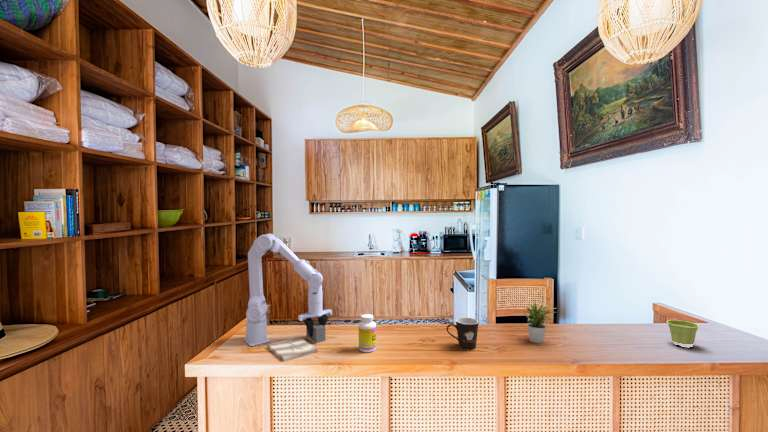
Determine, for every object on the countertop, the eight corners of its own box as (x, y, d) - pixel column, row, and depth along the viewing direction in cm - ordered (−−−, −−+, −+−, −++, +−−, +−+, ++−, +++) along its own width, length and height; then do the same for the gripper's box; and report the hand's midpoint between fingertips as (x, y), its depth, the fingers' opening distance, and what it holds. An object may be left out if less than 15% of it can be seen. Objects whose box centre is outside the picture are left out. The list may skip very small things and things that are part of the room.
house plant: (546, 351, 126) (546, 308, 126) (511, 341, 137) (511, 301, 137) (562, 342, 136) (561, 301, 136) (528, 333, 146) (528, 295, 146)
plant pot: (672, 348, 129) (672, 325, 129) (662, 340, 138) (662, 318, 137) (704, 352, 125) (704, 328, 125) (692, 343, 134) (692, 321, 134)
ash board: (267, 347, 132) (267, 344, 132) (299, 339, 140) (299, 336, 140) (283, 361, 119) (283, 357, 119) (317, 351, 127) (317, 348, 127)
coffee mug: (480, 344, 134) (480, 319, 134) (476, 352, 126) (476, 325, 126) (451, 340, 139) (451, 315, 139) (445, 347, 131) (445, 321, 131)
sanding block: (306, 337, 142) (306, 323, 142) (315, 335, 145) (315, 321, 145) (316, 343, 135) (316, 328, 135) (325, 341, 138) (325, 326, 138)
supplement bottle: (373, 353, 126) (373, 318, 126) (356, 352, 127) (356, 317, 127) (377, 346, 132) (377, 313, 132) (361, 345, 133) (361, 312, 133)
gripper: (303, 307, 132) (303, 341, 132) (335, 301, 142) (335, 333, 142) (295, 303, 138) (296, 336, 138) (327, 297, 147) (327, 329, 147)
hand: (315, 334), depth 140 cm, fingers closed on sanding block, 4 cm apart
